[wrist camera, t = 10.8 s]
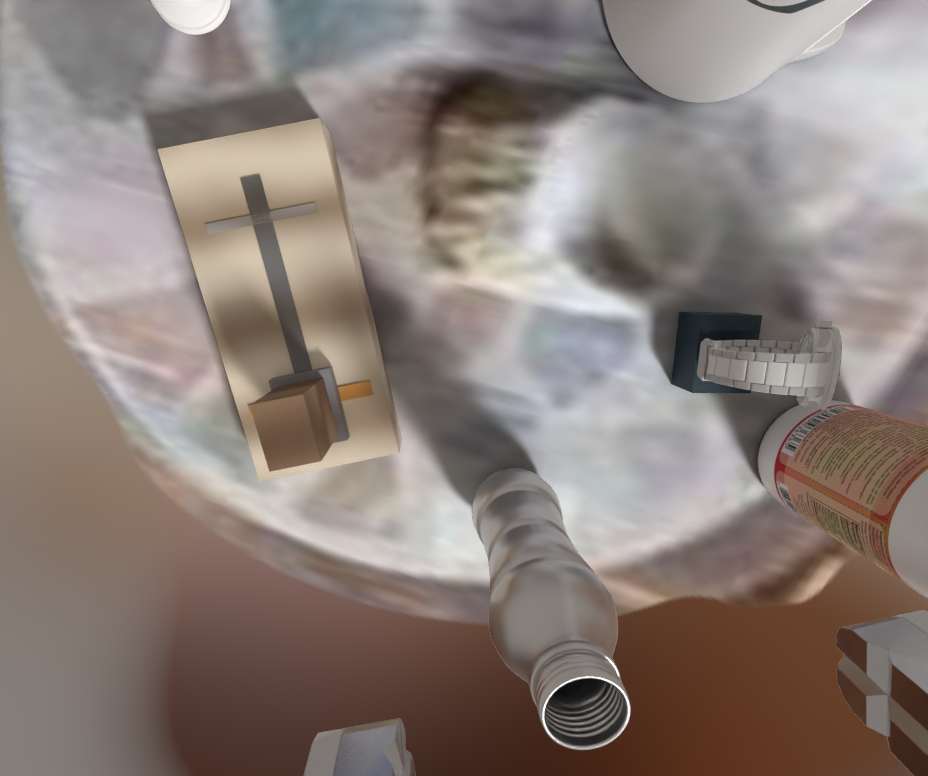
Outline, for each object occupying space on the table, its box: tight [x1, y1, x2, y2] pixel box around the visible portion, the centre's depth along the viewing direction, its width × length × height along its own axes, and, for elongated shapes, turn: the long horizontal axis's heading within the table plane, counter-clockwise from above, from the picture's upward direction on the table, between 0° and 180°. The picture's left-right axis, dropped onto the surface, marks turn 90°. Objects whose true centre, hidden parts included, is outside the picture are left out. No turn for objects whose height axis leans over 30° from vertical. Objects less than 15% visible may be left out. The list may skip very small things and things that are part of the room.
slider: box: [249, 366, 350, 472], centre depth 30 cm, size 5×4×6 cm
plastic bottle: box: [472, 468, 631, 750], centre depth 29 cm, size 6×7×20 cm
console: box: [157, 118, 402, 481], centre depth 33 cm, size 22×10×3 cm, turn 11°
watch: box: [671, 312, 842, 410], centre depth 32 cm, size 6×8×11 cm
